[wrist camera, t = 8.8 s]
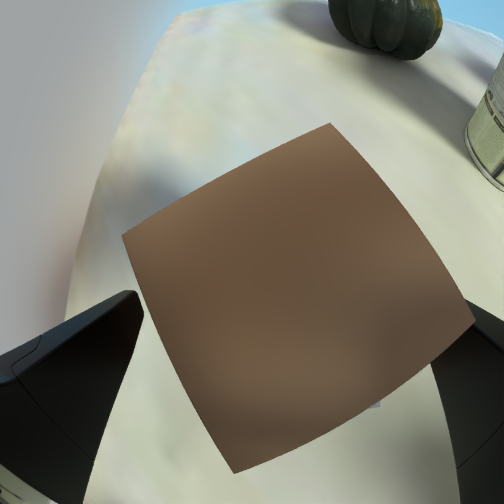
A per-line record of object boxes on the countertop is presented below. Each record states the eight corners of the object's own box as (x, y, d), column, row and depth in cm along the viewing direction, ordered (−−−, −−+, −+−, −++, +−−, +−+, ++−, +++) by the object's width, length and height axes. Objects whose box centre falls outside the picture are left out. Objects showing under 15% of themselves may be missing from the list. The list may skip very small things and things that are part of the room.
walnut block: (353, 343, 16) (476, 320, 4) (278, 387, 15) (234, 473, 4) (309, 272, 17) (329, 122, 6) (237, 314, 17) (121, 235, 6)
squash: (408, 56, 20) (448, -38, 11) (291, 14, 25) (331, -68, 16) (424, 86, 30) (457, 12, 21) (338, 45, 36) (369, -21, 27)
